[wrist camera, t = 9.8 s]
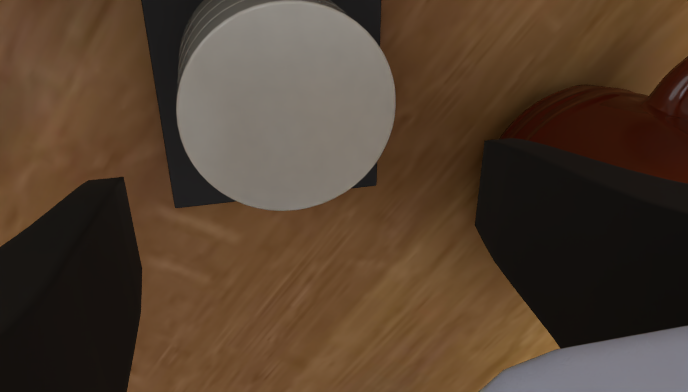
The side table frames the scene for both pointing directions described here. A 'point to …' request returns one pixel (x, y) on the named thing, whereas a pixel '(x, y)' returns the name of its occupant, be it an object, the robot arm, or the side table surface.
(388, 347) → the side table surface
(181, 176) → the mat
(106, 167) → the side table surface
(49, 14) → the side table surface
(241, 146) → the saucers
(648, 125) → the mug
